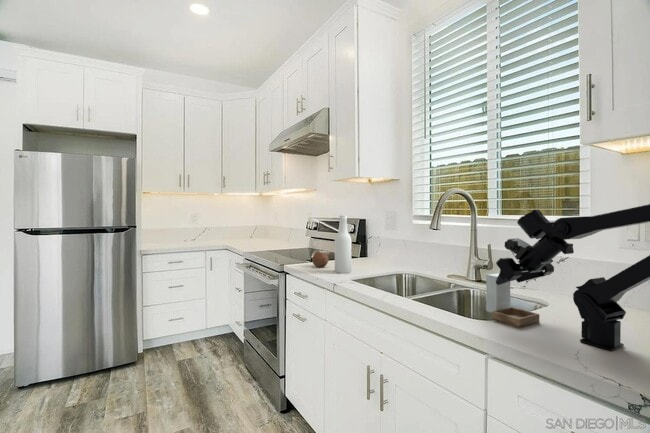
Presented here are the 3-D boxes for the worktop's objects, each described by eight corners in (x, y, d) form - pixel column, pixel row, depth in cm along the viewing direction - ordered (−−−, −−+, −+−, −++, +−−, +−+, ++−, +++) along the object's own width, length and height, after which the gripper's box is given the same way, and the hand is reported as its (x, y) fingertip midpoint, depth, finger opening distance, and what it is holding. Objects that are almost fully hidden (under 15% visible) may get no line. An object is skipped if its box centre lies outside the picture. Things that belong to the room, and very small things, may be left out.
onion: (314, 271, 194) (307, 256, 196) (328, 266, 198) (321, 250, 200) (318, 268, 185) (312, 251, 187) (333, 262, 189) (326, 246, 191)
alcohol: (331, 271, 177) (331, 215, 177) (343, 270, 182) (344, 215, 182) (342, 274, 170) (342, 215, 170) (354, 272, 176) (355, 215, 175)
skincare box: (499, 309, 110) (499, 272, 110) (510, 312, 106) (511, 275, 106) (485, 311, 108) (485, 274, 108) (496, 314, 104) (496, 276, 104)
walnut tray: (539, 322, 97) (539, 314, 97) (519, 328, 92) (519, 319, 92) (512, 314, 104) (512, 306, 104) (491, 319, 100) (492, 311, 100)
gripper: (544, 229, 103) (511, 259, 113) (502, 230, 95) (470, 263, 106) (571, 258, 96) (533, 288, 106) (528, 262, 88) (491, 294, 99)
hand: (507, 282), depth 104 cm, fingers open, 9 cm apart
